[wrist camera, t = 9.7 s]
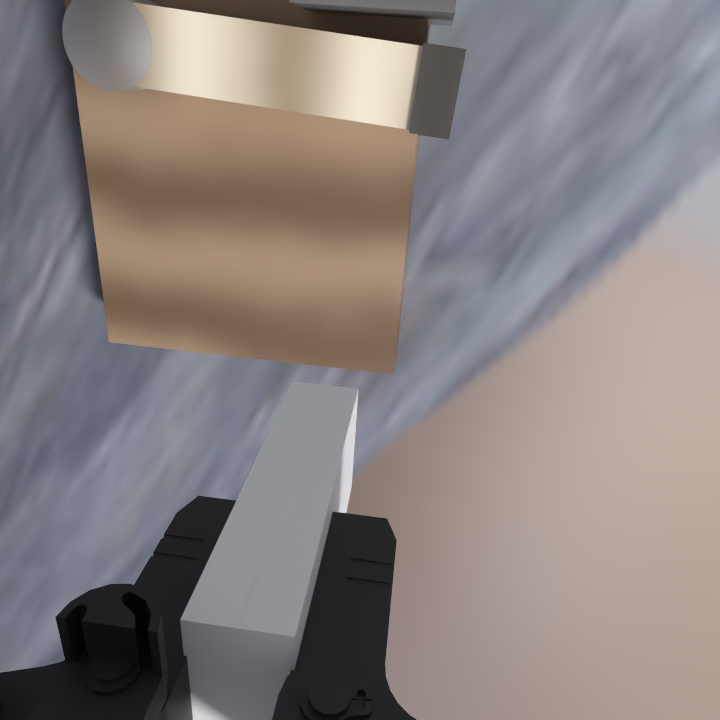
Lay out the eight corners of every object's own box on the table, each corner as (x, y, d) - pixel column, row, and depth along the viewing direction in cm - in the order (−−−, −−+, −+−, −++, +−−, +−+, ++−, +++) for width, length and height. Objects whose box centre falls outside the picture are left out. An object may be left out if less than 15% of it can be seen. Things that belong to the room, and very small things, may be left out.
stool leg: (104, 82, 28) (66, 84, 25) (100, -9, 26) (58, -18, 23) (446, 136, 27) (447, 144, 24) (464, 46, 25) (467, 43, 22)
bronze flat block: (91, -58, 28) (-9, -94, 22) (458, -37, 27) (463, -69, 20) (133, 322, 36) (69, 374, 30) (414, 352, 35) (408, 414, 29)
